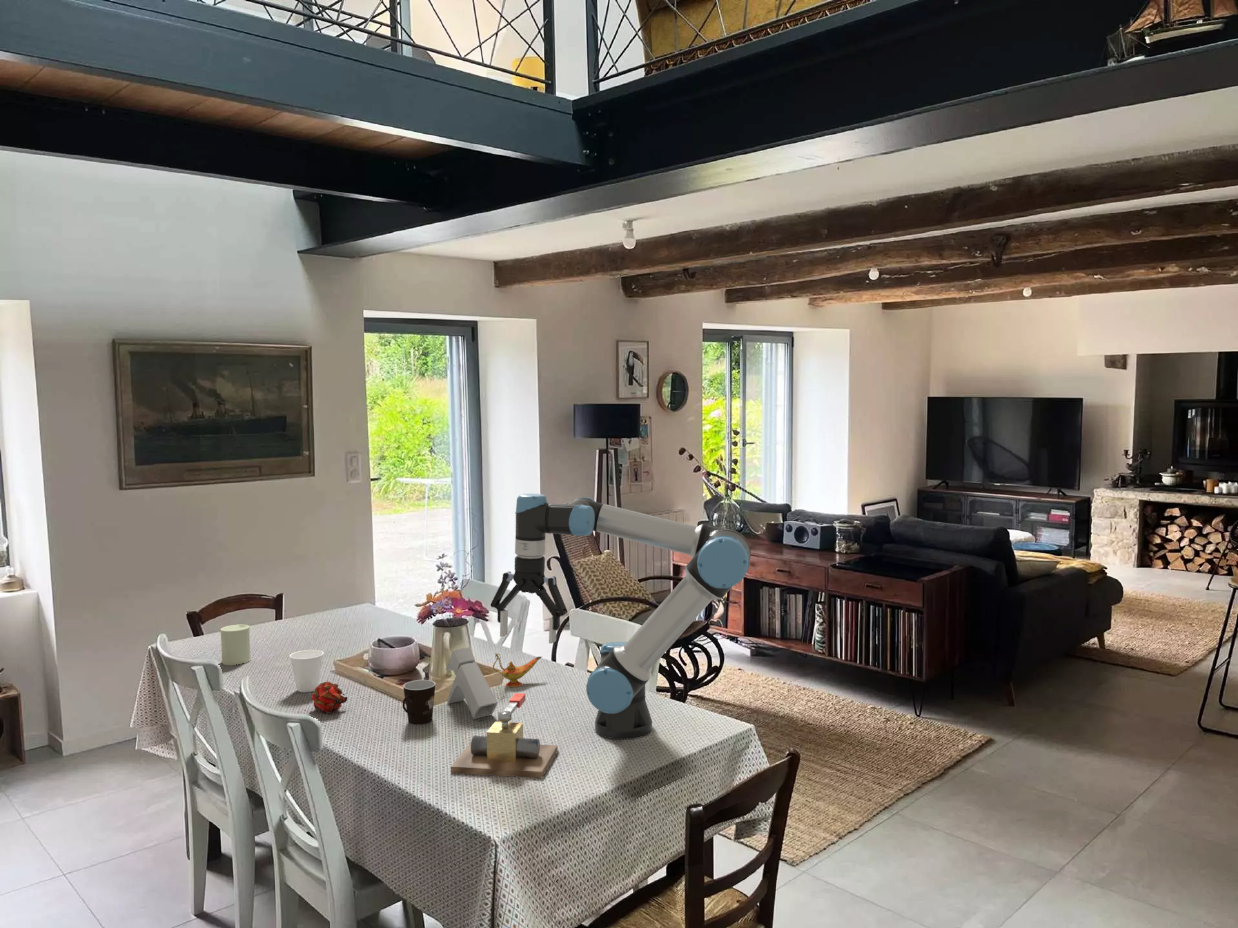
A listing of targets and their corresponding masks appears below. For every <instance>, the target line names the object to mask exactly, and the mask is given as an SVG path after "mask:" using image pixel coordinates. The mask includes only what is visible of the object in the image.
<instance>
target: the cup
mask: <svg viewBox="0 0 1238 928" xmlns="http://www.w3.org/2000/svg"><path fill="white" fill-rule="evenodd" d="M324 654H325V653H324V651H322V650H319V649H305V650H303V649H302V650H299V651H295V652H292V653H290V654H289V655H288V657H289V659H290V663H291V667H292V671H293V676H294V681H295V686H296V690H297V691H298V692H299V693H314V692H315V691H314V690H315V688H316V687H317V686H318V685H320V678H321V670H322V663H323V656H324Z"/></svg>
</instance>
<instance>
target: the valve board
mask: <svg viewBox="0 0 1238 928" xmlns="http://www.w3.org/2000/svg"><path fill="white" fill-rule="evenodd" d="M557 753H558V745H556V744H540V751H539V756H538V758H524V757H519V758H518V760H517V761H516V762H502V761H487V755H472V754H471V742H470V743H469V744H468V745H467V747H466V748H465V749H463V752H462V753H461V754H460V755H459V756H458V758H456V760H455V761H453V763H452V765H451V766H450V773H451V774H462V775H463V774H465V775H480V776H481V775H483V776H499V777H500V776H502V777H515V776H518V777H517V778H533V777H539V778H538V779H542V778H543V777H544V775H545V774H546V773H547V770H548V769H549V767H550V765H551V764H552V762H553V760H554V758H555V757H556V755H557ZM554 756H555V757H554ZM550 763H551V764H550ZM547 768H548V769H547ZM541 777H542V778H541Z"/></svg>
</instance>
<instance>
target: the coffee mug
mask: <svg viewBox="0 0 1238 928" xmlns="http://www.w3.org/2000/svg"><path fill="white" fill-rule="evenodd" d="M436 685H437V684H436V682H435V681H433V680H430V679H417V680H416V679H415V680H411V681H408V682H405V683H404V684H403V685H402V687H403V695H404V698H403V700H402V709H403V711H404V712H405V713H407V721H408V723H409V724H410V725H414V726H415V725H416V726H420V725H426V724H429V723H431V722H432V721H433V715H434V703H435V692H436Z"/></svg>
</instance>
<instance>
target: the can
mask: <svg viewBox="0 0 1238 928" xmlns="http://www.w3.org/2000/svg"><path fill="white" fill-rule="evenodd" d="M250 628H251V626H250V625H248V624H241V623H239V624H230V625H226V626H223V627H221V628H220V643H221V645H220V646H221V664H222V663H223V664H222V665H224V666H239V665H238V664H240V665H243V664H242V663H244V664H247V663H249V662H251V661H252V657H251V639H250V638H251V637H250V636H251V635H250V630H251V629H250ZM250 660H251V661H250ZM248 661H249V662H248ZM246 662H247V663H246ZM236 664H237V665H236Z"/></svg>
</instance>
